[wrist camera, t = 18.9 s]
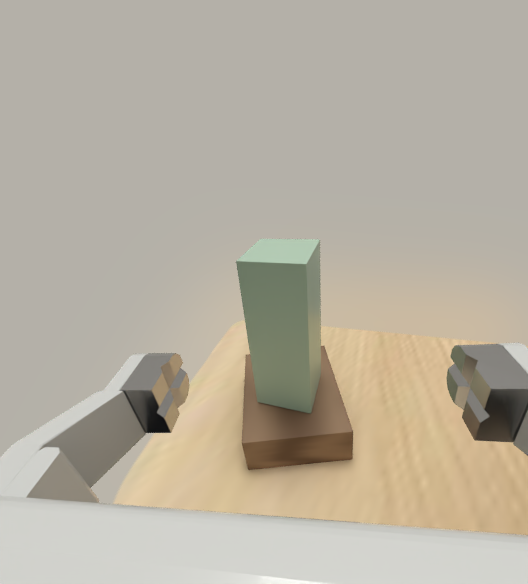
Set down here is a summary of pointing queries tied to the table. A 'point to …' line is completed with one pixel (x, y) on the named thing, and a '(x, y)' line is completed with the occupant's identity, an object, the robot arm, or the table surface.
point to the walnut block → (296, 426)
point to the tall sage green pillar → (283, 319)
